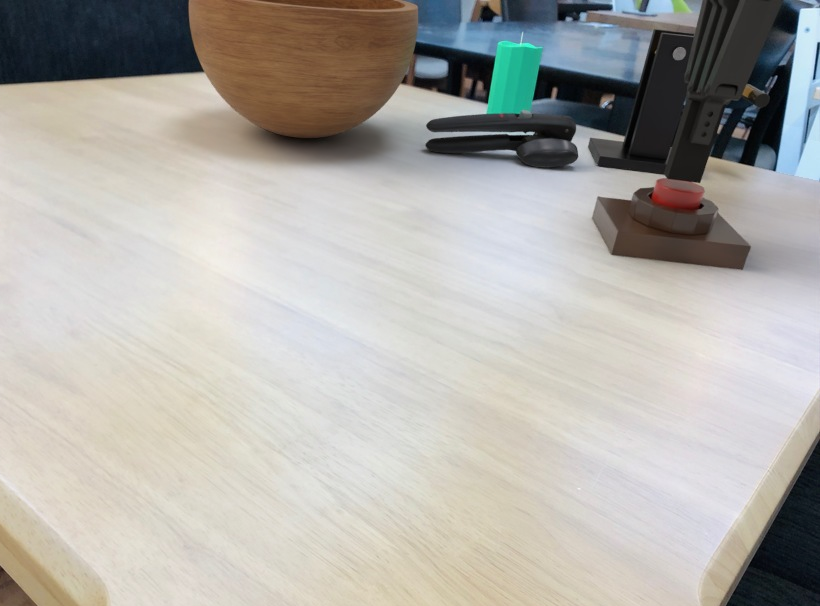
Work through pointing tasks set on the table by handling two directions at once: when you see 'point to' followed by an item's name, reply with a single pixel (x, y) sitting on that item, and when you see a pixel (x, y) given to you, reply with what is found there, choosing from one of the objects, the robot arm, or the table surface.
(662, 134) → the bracket
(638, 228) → the button block
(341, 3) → the bowl
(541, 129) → the can opener
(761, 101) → the lever
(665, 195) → the button
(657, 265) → the table surface
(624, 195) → the table surface
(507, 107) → the candle
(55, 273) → the table surface
